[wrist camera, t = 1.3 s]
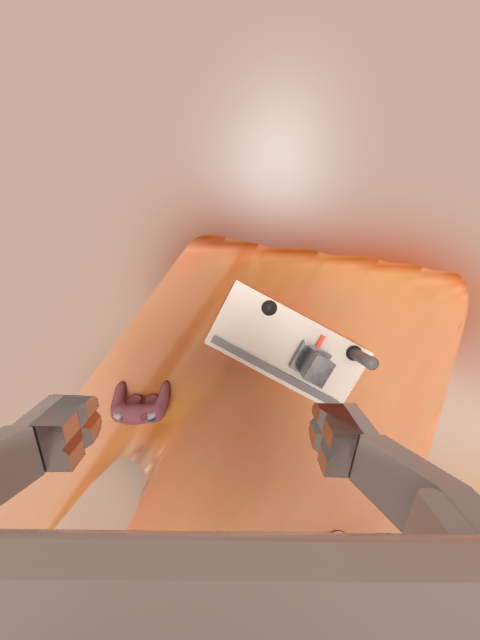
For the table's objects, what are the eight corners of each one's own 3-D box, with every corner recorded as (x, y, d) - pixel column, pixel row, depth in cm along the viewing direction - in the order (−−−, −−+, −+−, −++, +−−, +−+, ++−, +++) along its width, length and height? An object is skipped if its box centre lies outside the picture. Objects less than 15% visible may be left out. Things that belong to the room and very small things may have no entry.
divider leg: (336, 342, 38) (352, 351, 32) (314, 379, 39) (326, 395, 33) (309, 328, 38) (321, 334, 32) (288, 365, 39) (295, 378, 33)
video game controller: (125, 395, 45) (107, 429, 39) (117, 379, 43) (97, 412, 37) (175, 395, 45) (164, 429, 39) (170, 378, 42) (157, 412, 36)
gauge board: (368, 350, 40) (396, 364, 32) (332, 407, 42) (351, 434, 34) (237, 280, 40) (233, 277, 32) (205, 340, 42) (195, 351, 34)
